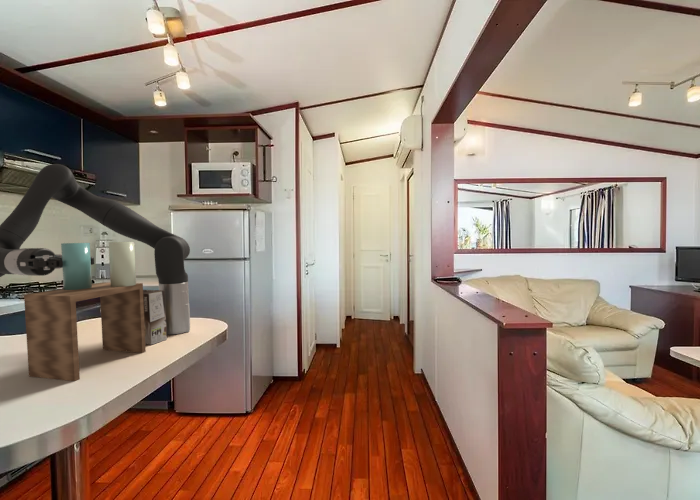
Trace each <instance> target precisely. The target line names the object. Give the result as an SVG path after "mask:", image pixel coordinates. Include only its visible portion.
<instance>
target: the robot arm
mask: <svg viewBox="0 0 700 500" xmlns="http://www.w3.org/2000/svg"><path fill="white" fill-rule="evenodd" d="M37 173H38V174H37V175H36V176H35V178H34V180H33V181H32V183H31V185H30V186H29V188H28V189H27V191H26V192H25V194H24V195H23V197H22V198H21V199H20V201H19V203H18V204H17V205H16V207H15V208H14V209H13V211H12V212H11V213H10V214H9V215H8V216H7V217H6V218H5V219H4V220H3V221H2V222H1V224H0V278H2V277H3V276H5V275H18V276H31V277H32V276H36V277H38V276H39V277H40V276H42V277H43V276H47V275H49V274H52V273H53V272H54V271H55V270H57V269H58V270H59V269H63V268H62V267H63V261H62V253H59V254H57V253H55V252H54V251H52V250H51V249H49V248H46V247H42V248H41V247H34V248H33V247H32V248H31V247H27V248H24V247H23V248H21V246H22V245H23V244H24V242H25V241H26V240H28V238H29V237H30V235H31V234H32V233H33V232H34V231H35V229H36V228H37V226H38V224H39V222H40V220H41V217H42V215H43V213H44V210H45V208H46V206H47V204H48V202H49V201H50V200H51V199H54V200H56V201H58V202H60V203H62V204H65V205H67V206H70V207H71V208H74V209H76V210H78V211H80V212H82V213H83V214H85V215H86V216H88V217H89V218H91V219H92V220H94V221H96V222H98V223H99V224H101V225H102V226H104V227H106V228H107V229H108V230H109V229H110V230H111V231H112V232H115V233H116V234H118V235H121V236H123V237H126V238H129V239H132V240H134V241H138V242H140V243H143V244H145V245H148V246H149V247H151V248H152V249H154V253H153V254H154V255H153V256H154V267H155V274H156V277H157V280H158V290H165V307H166V330H167V336H168V335H169V336H170V335H177V334H183V333H187V332H188V333H189V332H190V330H191V313H190V312H191V310H190V301H189V300H190V299H189V295H190V294H189V275H188V273H187V272H186V269H185V260H186V259H187V258H188V257H189V256H190V252H191V249H190V245H189V243H188V241H186V239H184V238H183V237H180V236H179V235H176V234H174V233H171V232H169V231H167V230H165V229H162V227H159V226H158V225H156V224H155V223H153V222H151V221H150V220H148V219H147V218H145V217H144V216H143V215H141V214H140V213H138V212H136V211H135V210H133V209H131V208H129V207H128V206H126V205H124V204H123V203H121V202H119V201H117V200H115V199H111V198H106V197H102V196H99V195H98V196H97V195H96V194H93V193H92V192H90V191H89V190H87V189H86V188H85V187H82V186H81V185H80V184H79V183H78V182H77V180H76V177H75V175H74V174H73V172H72V170H71V169H70V168H69V167H67V166H66V165H63V164H59V163H52V164H48V165H45V166H44V167H43V168H41V169H40V170H39V172H37ZM90 257H91V266H92V265H94V264H95V258H94V256H90Z"/></svg>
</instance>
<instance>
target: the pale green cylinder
mask: <svg viewBox="0 0 700 500" xmlns="http://www.w3.org/2000/svg"><path fill="white" fill-rule="evenodd" d="M135 246H136V245H135V241H112V242H111V241H110V242H108V252H109V253H108V257H109V277H110V278H109V279H110V283H111V287H124V286H132V285H136V283H137V274H136V273H137V271H136V269H137V268H136V251H135V250H136V249H135Z"/></svg>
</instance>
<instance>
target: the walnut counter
mask: <svg viewBox="0 0 700 500" xmlns="http://www.w3.org/2000/svg"><path fill="white" fill-rule="evenodd" d="M143 290H144V285H143V282H141V283H140V282H136V285H132V286H124V287H111V282H105V281H103V282H96V283H92V287H91V288H87V289H78V290H64V288H57V289H52V290H45V291H39V292H33V293H25V294H24V295H23V298H24V299H23V300H24V301H23V302H24V315H25V318H24V319H25V332H26V350H27V367H28V377H30V378H32V377H33V378H41V379H42V378H43V379H50V380H60V381H70V382H76V381H78V380H80V375H81V374H80V356H79V341H78V336H79V335H78V322H77V321H78V319H77V318H78V317H77V302H82V301H86V300H90V299H91V300H93V299H96V298H100V299H99V300H100V319H101V321H100V323H101V338H102V339H101V341H102V343H101V344H102V350H103V351H112V352H113V351H114V352H127V353H136V354H137V353H139V354H143V353H146V350H147V349H146V344H145V324H144V301H143Z"/></svg>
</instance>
